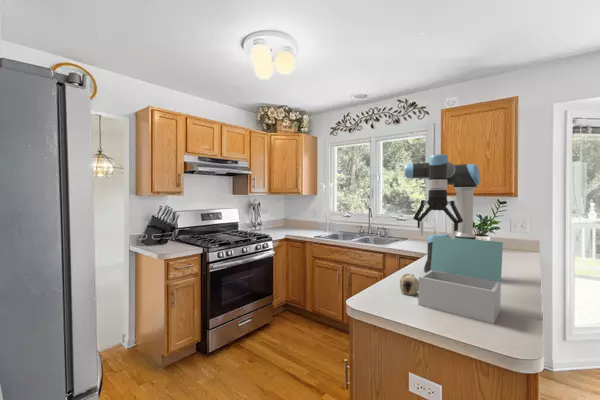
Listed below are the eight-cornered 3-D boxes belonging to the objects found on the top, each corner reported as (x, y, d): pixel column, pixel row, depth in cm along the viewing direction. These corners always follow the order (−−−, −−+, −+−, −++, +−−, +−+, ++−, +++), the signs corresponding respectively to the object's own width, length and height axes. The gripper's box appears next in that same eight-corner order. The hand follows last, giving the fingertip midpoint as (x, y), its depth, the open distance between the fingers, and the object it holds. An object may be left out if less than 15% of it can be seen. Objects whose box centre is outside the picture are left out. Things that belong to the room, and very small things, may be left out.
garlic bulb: (400, 296, 141) (395, 275, 144) (417, 293, 141) (412, 272, 144) (405, 296, 132) (400, 274, 135) (424, 293, 132) (418, 271, 135)
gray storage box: (430, 295, 136) (431, 270, 136) (500, 310, 118) (500, 282, 118) (418, 304, 124) (418, 277, 124) (493, 323, 106) (494, 291, 106)
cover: (430, 269, 135) (431, 269, 137) (500, 281, 118) (501, 281, 119) (433, 235, 137) (434, 235, 139) (502, 242, 119) (503, 242, 121)
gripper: (406, 189, 136) (406, 234, 136) (467, 189, 119) (466, 241, 119) (412, 189, 141) (412, 233, 142) (471, 189, 125) (470, 239, 125)
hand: (436, 237), depth 130 cm, fingers open, 13 cm apart
